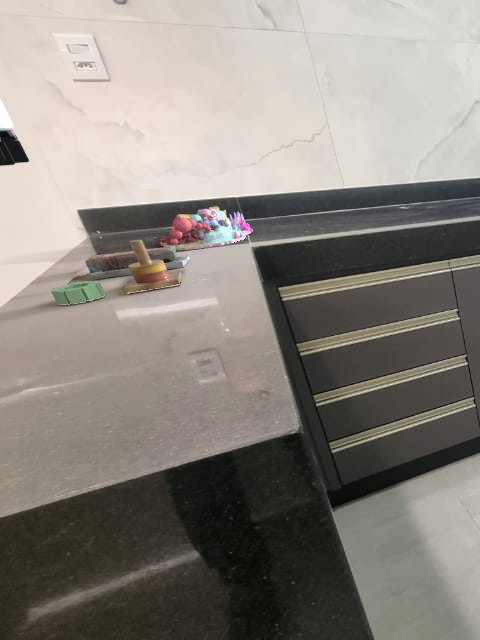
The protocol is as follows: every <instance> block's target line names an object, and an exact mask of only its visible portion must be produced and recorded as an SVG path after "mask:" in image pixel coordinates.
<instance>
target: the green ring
mask: <svg viewBox="0 0 480 640" xmlns="http://www.w3.org/2000/svg"><path fill="white" fill-rule="evenodd" d="M50 292H51V294H52V297H53V298H54V300H55V302H56V305H58V304H67V305H68V304H70V303H71V304H74V303H80V302H85V301H87V300H92V299H96V298H99V297H101V296H104V294H106V292H105V290H104V287H103V286H102V284H101V282H100V280H99V281H98V280H88V281H85V280H84V281H79V282H73V283H70V284H69V283H68V284H64V285H59V286H55V288H53V289H51V290H50Z"/></svg>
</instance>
